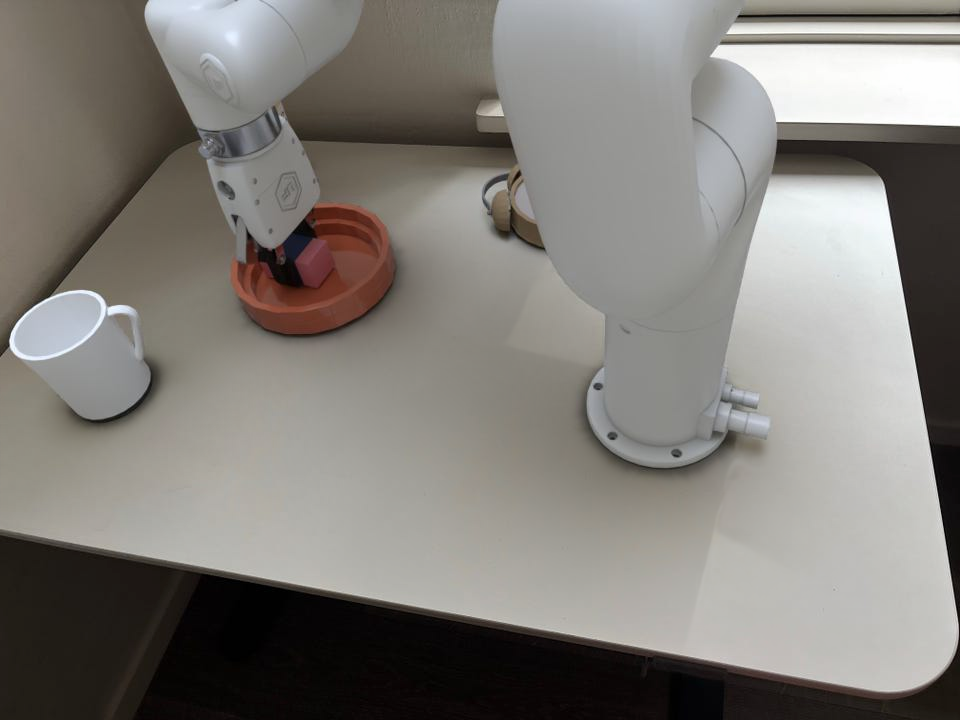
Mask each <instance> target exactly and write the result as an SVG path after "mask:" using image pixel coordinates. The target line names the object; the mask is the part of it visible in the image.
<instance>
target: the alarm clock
mask: <svg viewBox="0 0 960 720" xmlns="http://www.w3.org/2000/svg"><path fill="white" fill-rule="evenodd" d="M501 182H506V187H507V188H504V189H501V190H499V191H497V192H496V193H495V195H494V196H493V199H492V201H491V203H490V202H489V201H488V199H487V198H486V195H487V192H488V191H489V190H490V188H492V187H493V186H494V185H496V184H498V183H501ZM481 200H482V204H483V206H484V207H485V208H486V209H487V210H486V215H487V216H490V218H492V221H493V223H494V225H495V227H496V228H497V229H499V230H501V231H502V232H510V230H511V226H512V228H513V230H514V231H515V232H516V234H517V236H519V237H521V238H522V239H523V240H525V241H526V242H528V243H530V244H533V245H535V246H537V247H540V248H545V247H544V244H543V242H542V239H541V236H540V233H539V230H538V227H537V224H536V220H535V217H534V214H533V211H532V207H531V204H530V201H529V197H528V194H527V191H526V187H525V184H524V181H523V177H522V174H521V171H520V167H519V164H518V163H516V164H515V165H514V166H513V168H511V170H510V172H503V173H499V174H496V175H494V176H492V177H491V178H489V179H488V180H487V181H486V182H485V183H484V184H483V187H482V189H481ZM509 205H510V206H509Z"/></svg>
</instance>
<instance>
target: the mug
mask: <svg viewBox="0 0 960 720" xmlns="http://www.w3.org/2000/svg"><path fill="white" fill-rule="evenodd" d="M117 315H124V316H126V317H129V320H130V325H131V330H132V334H133V339H134V344H133V343H132V341H131V339H129V337H128V336H127V334H126V333H125V332H124V330H123V329H122V327H121V325H120V324H119V323H118V321H117V319H116V318H115V316H117ZM8 342H9V348H10V350H11V352H12V353H13V355H15V356H16V357H17V358H18V360H20V361H21V362H23V364H25V365H26V366H27V367H28V368H30V369H31V370H32V371H33V372H34V373H35V374H37V375H38V376H39V377H40V378H41V379H42V380H43V381H44V382H45V383H46V384H47V385H48V386H49V387H50V388H51V390H53V391H54V392H55V394H56V395H58V396H59V397H60V398H61V399H62V400H63V401H64V402H65V403H66V405H68V406H69V407H70V408H71V409H72V410H73V411H74V412H75V414H77V415H78V416H79V417H80V418H81V419H83V420H86V421H91V422H95V423H98V422H100V423H101V422H109V421H112V420H117V419H118V418H121V417H123V416H125V415H127V414H129V413H130V412H131V411H133V410H134V409H136V408H137V407H138V406H139V405H140V404H141V403H142V402H143V401H144V400H145V398H147V395H148V394H149V393H150V389H151V387H152V381H153V374H152V371H151V368H150V367H149V366H148V364H147V363H146V361H145V360H144V358H145V351H146V347H145V341H144V335H143V328H142V323H141V318H140V315H139V313H138V312H137V310H136V309H135V308H134V307H132V306H131V305H126V304H125V305H124V304H117V305H111V306H109V305H108V304H107V302H106V301H105V299H104V298H103V297H102V296H101V295H100V294H99V293H96V292H94V291H92V290H86V289H78V290H77V289H76V290H68V291H64V292H60V293H57V294H54V295H52V296H50V297H48V298H45V299H44V300H42V301H40V302H39V303H37V304H36V305H34V306H33V307H32V308H30V309H29V310H28V311H27V312H25V313H24V315H22V317H21V318H20V319H19V320H18V321H17V322H16V324H15V325H14V327H13V329H12V331H11V333H10V337H9V340H8Z"/></svg>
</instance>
